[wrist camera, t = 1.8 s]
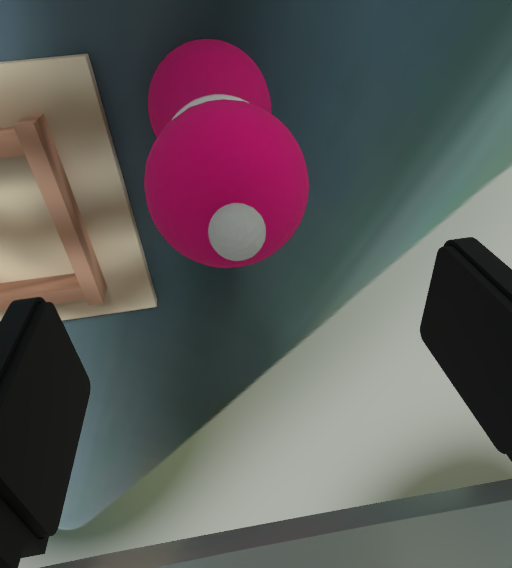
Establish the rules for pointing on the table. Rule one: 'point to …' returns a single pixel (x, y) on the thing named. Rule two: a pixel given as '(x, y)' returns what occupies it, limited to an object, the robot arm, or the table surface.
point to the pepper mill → (220, 158)
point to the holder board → (64, 195)
